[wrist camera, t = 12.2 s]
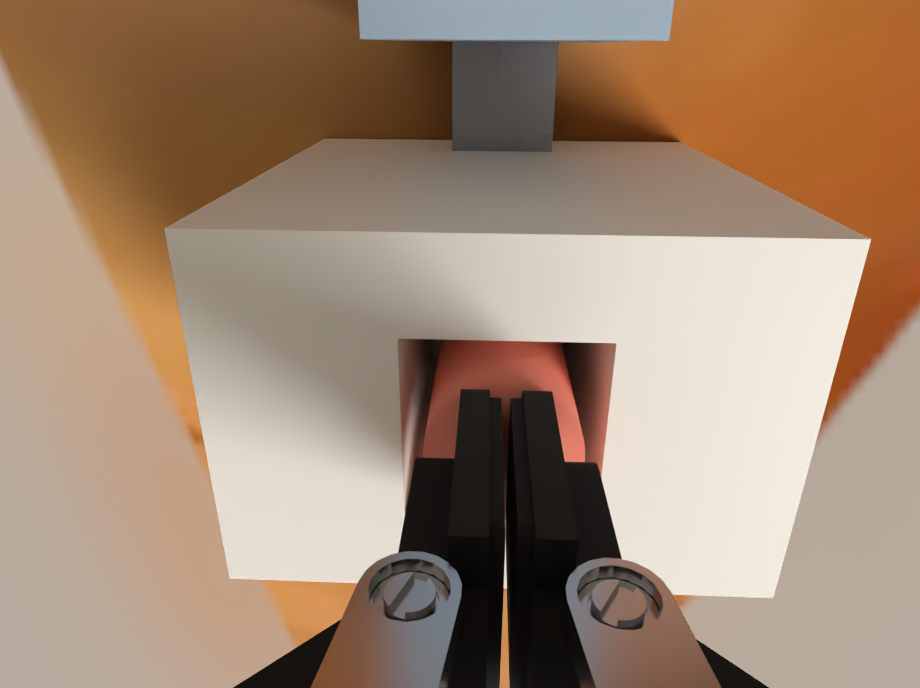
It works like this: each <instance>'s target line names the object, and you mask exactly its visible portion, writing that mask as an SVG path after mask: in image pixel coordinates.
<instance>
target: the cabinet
mask: <svg viewBox="0 0 920 688" xmlns="http://www.w3.org/2000/svg"><path fill="white" fill-rule="evenodd" d="M164 231H165V236H166V242H167V247H168V252H169V257H170V263H171V268H172V273H173V279H174V284H175V289H176V295H177V300H178V305H179V311H180V316H181V321H182V327H183V332H184V337H185V343H186V348H187V353H188V359H189V364H190V369H191V375H192V380H193V385H194V391H195V396H196V401H197V407H198V412H199V417H200V423H201V428H202V433H203V439H204V444H205V449H206V455H207V460H208V465H209V471H210V476H211V481H212V487H213V492H214V497H215V503H216V508H217V513H218V519H219V523H220V529H221V534H222V540H223V545H224V550H225V555H226V561H227V566H228V572H229V577H230V578H231V579H258V580H285V581H313V582H341V583H358V581H359V580H360V578H361V577H362V575H363V574H364V572H365V571H366V569H368V568H369V567H370V566H371V565H373V564H374V563H375V562H376V561H378V560H380V559H382V558H384V557H387V556H389V555H391V554H395V553H398V550H399V545H400V539H401V534H402V528H403V523H404V518H405V512H406V507H407V501H408V496H409V490H410V485H411V479H412V474H413V469H414V463H415V459H416V458H417V457H423V444H424V438H425V432H426V426H427V420H428V414H429V408H430V403H431V397H432V391H433V385H434V379H435V373H436V367H437V361H438V356H439V350H440V344H441V340H487V341H533V342H561V344H562V349H563V353H564V357H565V361H566V366H567V370H568V374H569V378H570V383H571V387H572V391H573V395H574V400H575V404H576V408H577V412H578V417H579V421H580V425H581V430H582V434H583V438H584V444H585V462H595V463H597V465H598V468H599V471H600V475H601V479H602V483H603V487H604V491H605V495H606V499H607V503H608V507H609V510H610V514H611V518H612V522H613V526H614V530H615V534H616V538H617V542H618V546H619V550H620V554H621V557H622V559H623V560H627V561H631V562H635V563H637V564H639V565H641V566H643V567H645V568H647V569H649V570H651V571H652V572H653V573H654V574H656V575H657V576H658V577H659V578H661V579H662V580H663V582H664V583H665V584H666V586H667V587H668V588H669V590H670V591H671V593H672V594H674V595H701V596H729V597H759V598H773V597H774V593H775V590H776V586H777V582H778V579H779V575H780V571H781V568H782V564H783V560H784V556H785V553H786V549H787V546H788V542H789V538H790V534H791V530H792V527H793V524H794V520H795V516H796V513H797V509H798V505H799V502H800V498H801V494H802V491H803V487H804V483H805V479H806V476H807V472H808V469H809V465H810V461H811V458H812V454H813V450H814V447H815V443H816V439H817V436H818V432H819V428H820V425H821V421H822V417H823V414H824V410H825V406H826V403H827V399H828V395H829V392H830V388H831V384H832V381H833V377H834V373H835V370H836V366H837V362H838V359H839V355H840V351H841V348H842V344H843V340H844V337H845V333H846V330H847V326H848V322H849V319H850V315H851V311H852V308H853V304H854V300H855V297H856V293H857V289H858V286H859V282H860V278H861V275H862V271H863V267H864V264H865V260H866V256H867V253H868V249H869V245H870V242H871V239H869V238H867V237H865V236H863V235H861V234H860V233H858V232H856V231H854V230H852V229H850V228H848V227H846V226H844V225H842V224H840V223H838V222H836V221H834V220H832V219H830V218H828V217H826V216H824V215H822V214H820V213H818V212H817V211H815V210H813V209H811V208H809V207H807V206H805V205H803V204H801V203H799V202H797V201H795V200H793V199H791V198H789V197H787V196H785V195H783V194H781V193H779V192H777V191H775V190H774V189H772V188H770V187H768V186H766V185H764V184H762V183H760V182H758V181H756V180H754V179H752V178H750V177H748V176H746V175H744V174H742V173H740V172H738V171H736V170H734V169H732V168H730V167H729V166H727V165H725V164H723V163H721V162H719V161H717V160H715V159H713V158H711V157H709V156H707V155H705V154H703V153H701V152H699V151H697V150H695V149H693V148H691V147H689V146H687V145H686V144H684V143H682V142H614V141H552V152H519V151H452V140H417V139H323V140H321V141H319V142H317V143H316V144H314V145H312V146H310V147H309V148H307V149H305V150H303V151H301V152H300V153H298V154H296V155H294V156H292V157H291V158H289V159H287V160H285V161H284V162H282V163H280V164H278V165H276V166H275V167H273V168H271V169H269V170H267V171H266V172H264V173H262V174H260V175H259V176H257V177H255V178H253V179H251V180H250V181H248V182H246V183H244V184H242V185H241V186H239V187H237V188H235V189H234V190H232V191H230V192H228V193H226V194H225V195H223V196H221V197H219V198H217V199H216V200H214V201H212V202H210V203H209V204H207V205H205V206H203V207H201V208H200V209H198V210H196V211H194V212H192V213H191V214H189V215H187V216H185V217H184V218H182V219H180V220H178V221H176V222H175V223H173V224H171V225H169V226H167V227H166V228H164ZM504 588H507V575H506V540H505V564H504Z"/></svg>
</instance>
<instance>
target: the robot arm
mask: <svg viewBox="0 0 920 688" xmlns="http://www.w3.org/2000/svg"><path fill="white" fill-rule="evenodd" d="M505 540H506V575H507V609H508V643H509V678H510V688H768V687H767V686H766V685H764V684H762V683H761V682H760V681H758V680H757V679H755V678H753V677H752V676H751V675H749V674H748V673H746V672H744V671H743V670H742V669H740V668H739V667H737V666H736V665H734V664H733V663H731V662H730V661H728V660H727V659H725V658H724V657H722V656H720V655H719V654H717V653H716V652H714V651H713V650H711V649H710V648H708V647H707V646H705V645H704V644H702V643H701V642H699V641H698V640H696V638H695V636H694V634H693V633H692V631H691V629H690V627H689V625H688V623H687V621H686V619H685V617H684V615H683V614H682V612H681V610H680V608H679V606H678V604H677V602H676V600H675V598H674V596H673V595H672V593H671V591H670V590H669V588H668V587H667V586H666V584H665V583H664V582H663V580H662V579H661V578H659V577H658V576H657V575H656V574H654V573H653V572H652V571H651V570H649V569H647V568H645V567H643V566H641V565H639V564H637V563H635V562H631V561H627V560H623V559H622V557H621V554H620V550H619V546H618V542H617V538H616V534H615V530H614V526H613V522H612V518H611V514H610V510H609V507H608V503H607V499H606V495H605V491H604V487H603V483H602V479H601V475H600V471H599V468H598V465H597V463H595V462H565V460H564V454H563V448H562V443H561V437H560V432H559V426H558V420H557V415H556V409H555V403H554V398H553V393H552V391H522V397H521V398H511V399H510V420H509V444H508V468H507V492H506V517H505V502H504V468H503V434H502V400H501V398H493V397H490V390H481V389H461V392H460V403H459V414H458V425H457V437H456V448H455V458H424V457H417V458H416V459H415V463H414V469H413V474H412V479H411V485H410V490H409V496H408V501H407V507H406V512H405V518H404V523H403V528H402V534H401V539H400V545H399V550H398V553H395V554H391V555H389V556H387V557H384V558H382V559H380V560H378V561H376V562H375V563H374V564H373V565H371V566H370V567H369V568H368V569H366V571H365V572H364V574H363V575H362V577H361V578H360V580H359V581H358V584H357V586H356V588H355V590H354V592H353V595H352V597H351V599H350V601H349V603H348V606H347V608H346V610H345V612H344V615H343V617H342V619H341V620H339V621H338V622H336V623H335V624H333V625H332V626H330V627H328V628H327V629H325V630H324V631H322V632H321V633H319V634H317V635H316V636H314V637H313V638H311V639H309V640H308V641H306V642H305V643H303V644H302V645H300V646H298V647H297V648H295V649H294V650H292V651H291V652H289V653H287V654H286V655H284V656H283V657H281V658H279V659H278V660H276V661H275V662H273V663H272V664H270V665H269V666H267V667H265V668H264V669H262V670H261V671H259V672H257V673H256V674H254V675H253V676H251V677H250V678H248V679H246V680H245V681H243V682H242V683H240V684H238V685H237V686H235V687H234V688H499V682H500V659H501V635H502V612H503V588H504V564H505Z"/></svg>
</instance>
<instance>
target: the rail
mask: <svg viewBox="0 0 920 688" xmlns="http://www.w3.org/2000/svg"><path fill="white" fill-rule="evenodd" d="M558 43H559V42H474V41H452V151H519V152H552V141H553V125H554V108H555V92H556V75H557V59H558Z"/></svg>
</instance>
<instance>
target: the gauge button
mask: <svg viewBox="0 0 920 688" xmlns="http://www.w3.org/2000/svg"><path fill="white" fill-rule="evenodd" d="M461 389H481V390H490V397H493V398H501V400H502V434H503V468H504V502H505V517H506V492H507V468H508V444H509V420H510V399H511V398H521V397H522V391H552V393H553V398H554V403H555V409H556V415H557V420H558V426H559V432H560V437H561V443H562V448H563V454H564V460H565V462H585V444H584V438H583V434H582V430H581V425H580V421H579V417H578V412H577V408H576V404H575V400H574V395H573V391H572V387H571V383H570V378H569V374H568V370H567V366H566V361H565V357H564V353H563V349H562V344H561V342H533V341H487V340H441V344H440V350H439V356H438V361H437V367H436V373H435V379H434V385H433V391H432V397H431V403H430V408H429V414H428V420H427V426H426V432H425V438H424V444H423V457H424V458H455V448H456V437H457V425H458V414H459V403H460V392H461Z"/></svg>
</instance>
